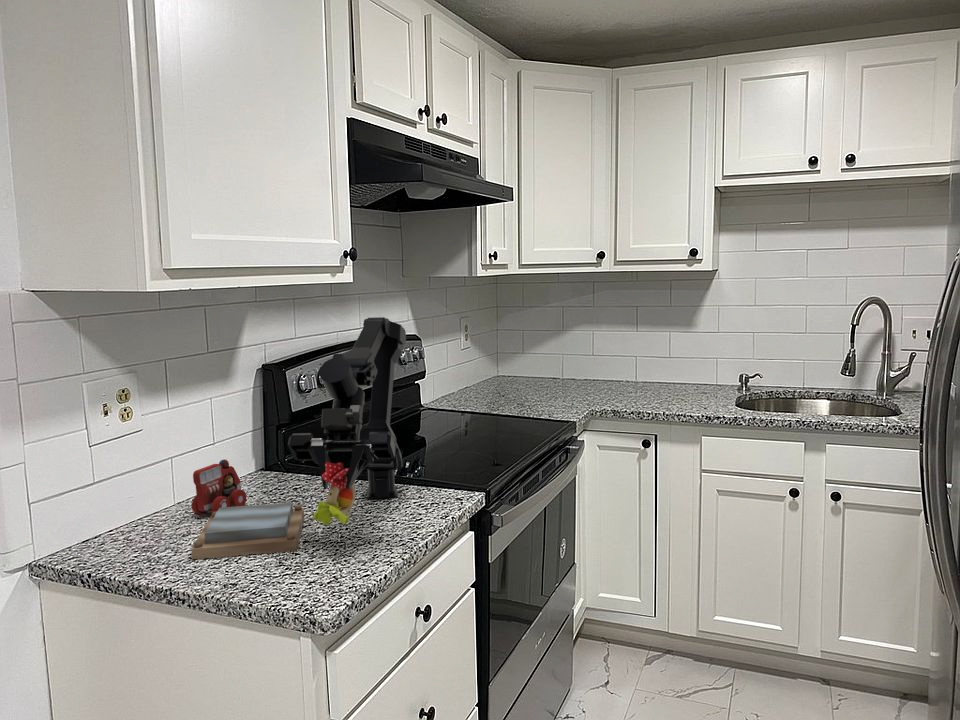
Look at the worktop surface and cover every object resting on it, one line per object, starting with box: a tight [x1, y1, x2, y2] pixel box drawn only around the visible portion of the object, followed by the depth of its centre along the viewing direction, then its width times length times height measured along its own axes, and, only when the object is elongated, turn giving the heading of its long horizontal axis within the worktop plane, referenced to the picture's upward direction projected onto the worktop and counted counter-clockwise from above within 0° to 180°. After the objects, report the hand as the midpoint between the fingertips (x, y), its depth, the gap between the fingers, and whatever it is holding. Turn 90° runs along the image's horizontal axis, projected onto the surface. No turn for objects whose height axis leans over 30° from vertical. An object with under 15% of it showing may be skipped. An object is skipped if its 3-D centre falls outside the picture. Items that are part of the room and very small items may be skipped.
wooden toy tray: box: [190, 501, 305, 561], centre depth 140 cm, size 18×18×4 cm
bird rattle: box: [312, 461, 357, 526], centre depth 133 cm, size 6×11×9 cm
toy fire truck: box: [191, 459, 247, 515], centre depth 156 cm, size 7×12×10 cm, turn 158°
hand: (336, 488), depth 130 cm, fingers closed on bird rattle, 4 cm apart
